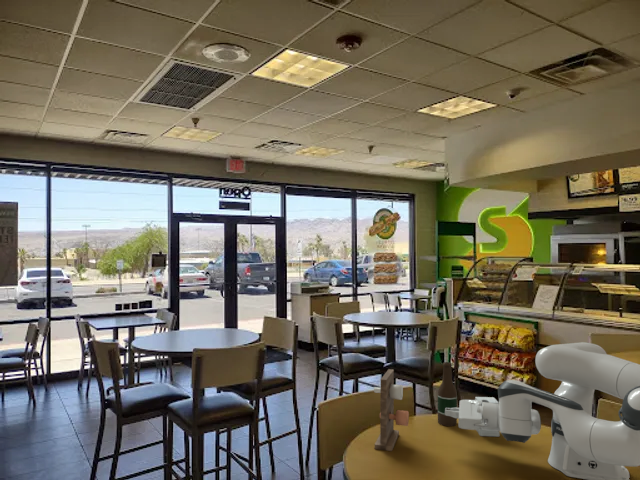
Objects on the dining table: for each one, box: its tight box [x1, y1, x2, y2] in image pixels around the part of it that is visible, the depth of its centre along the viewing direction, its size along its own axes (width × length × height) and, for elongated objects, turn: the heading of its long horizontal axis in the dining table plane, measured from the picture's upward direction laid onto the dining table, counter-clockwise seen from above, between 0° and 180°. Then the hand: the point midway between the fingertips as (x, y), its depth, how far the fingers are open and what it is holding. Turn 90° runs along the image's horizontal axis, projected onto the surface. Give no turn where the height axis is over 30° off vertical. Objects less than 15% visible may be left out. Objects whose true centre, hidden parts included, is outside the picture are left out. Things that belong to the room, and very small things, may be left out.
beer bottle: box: [437, 361, 458, 427], centre depth 192 cm, size 8×8×24 cm
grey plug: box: [373, 384, 404, 401], centre depth 173 cm, size 10×5×5 cm, turn 72°
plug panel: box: [374, 368, 400, 452], centre depth 173 cm, size 6×16×24 cm, turn 162°
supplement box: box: [474, 396, 501, 437], centre depth 182 cm, size 7×7×13 cm
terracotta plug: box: [389, 409, 410, 427], centre depth 172 cm, size 10×5×5 cm, turn 72°
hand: (445, 411), depth 166 cm, fingers closed
